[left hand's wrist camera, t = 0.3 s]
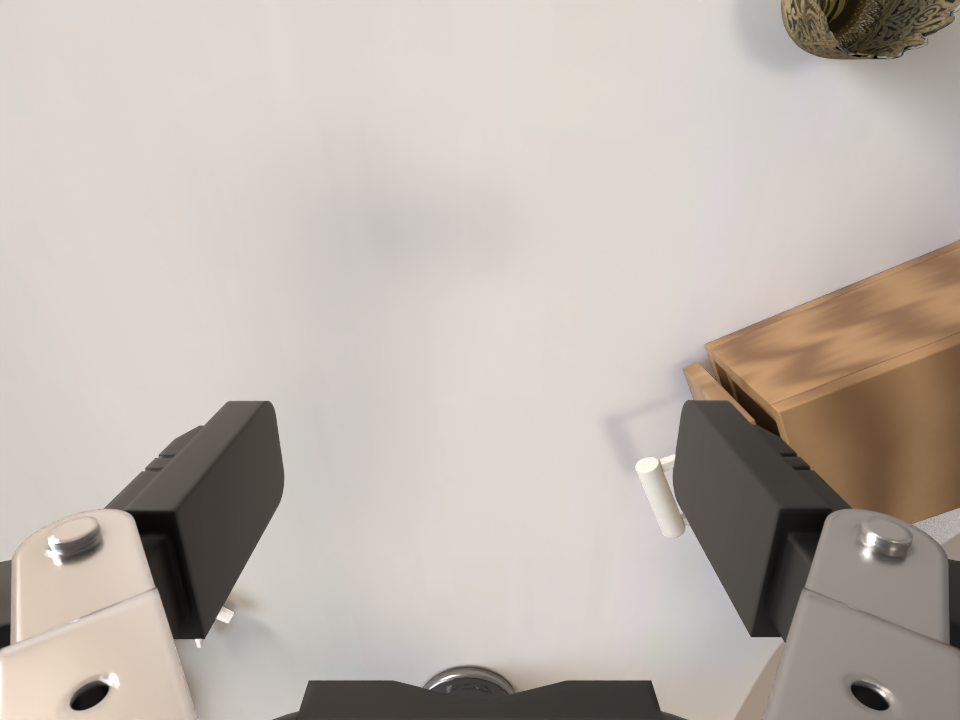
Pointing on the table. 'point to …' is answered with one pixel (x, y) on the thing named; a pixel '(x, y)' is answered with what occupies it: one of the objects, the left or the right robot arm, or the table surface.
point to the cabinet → (866, 385)
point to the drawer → (653, 468)
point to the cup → (865, 26)
